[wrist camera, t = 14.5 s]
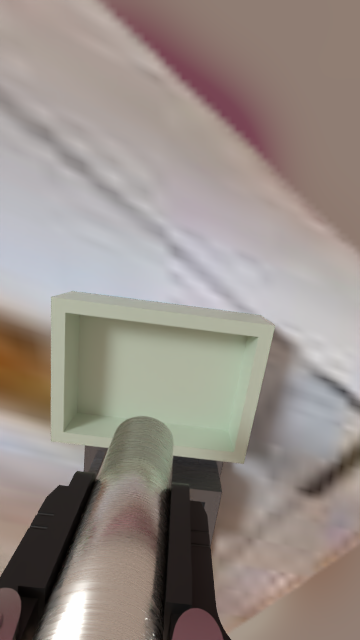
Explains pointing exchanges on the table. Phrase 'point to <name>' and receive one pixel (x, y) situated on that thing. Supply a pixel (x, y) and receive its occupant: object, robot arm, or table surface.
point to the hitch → (180, 478)
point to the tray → (156, 372)
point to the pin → (118, 545)
